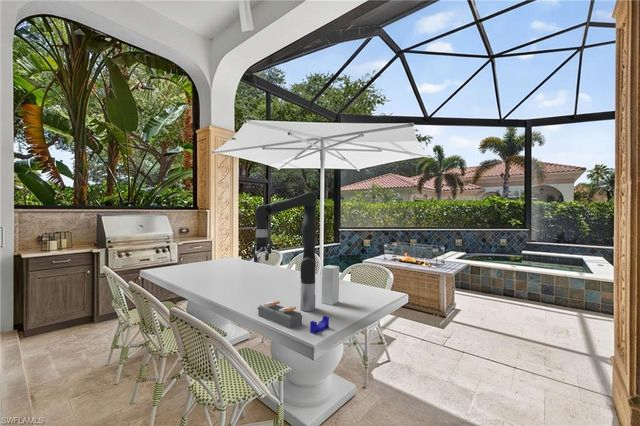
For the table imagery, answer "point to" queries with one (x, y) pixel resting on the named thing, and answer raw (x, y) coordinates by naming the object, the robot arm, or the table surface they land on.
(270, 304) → the rocker
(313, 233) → the robot arm
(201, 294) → the table surface
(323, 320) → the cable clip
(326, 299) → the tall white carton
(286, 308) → the block
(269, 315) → the box
